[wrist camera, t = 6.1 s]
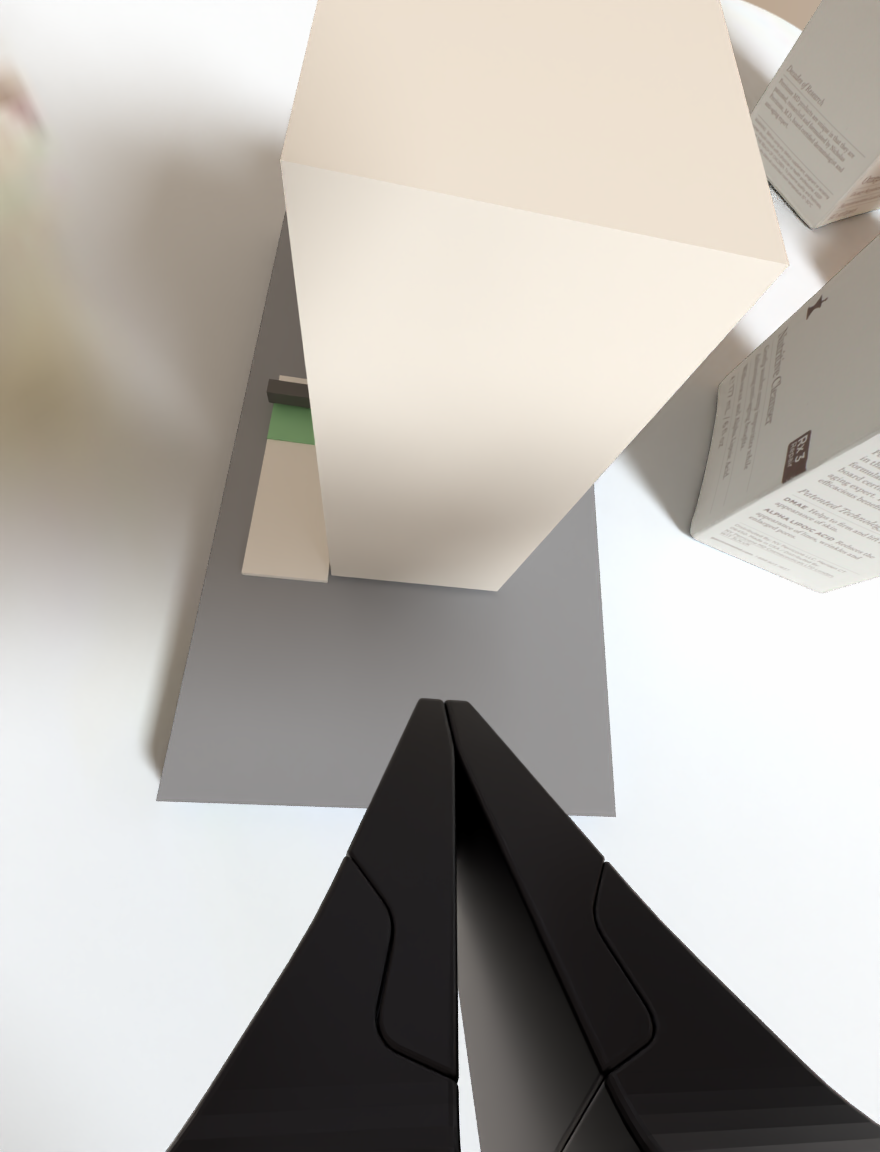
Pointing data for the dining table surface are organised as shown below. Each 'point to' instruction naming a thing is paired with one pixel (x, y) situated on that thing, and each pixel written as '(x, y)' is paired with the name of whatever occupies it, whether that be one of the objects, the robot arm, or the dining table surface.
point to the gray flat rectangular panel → (369, 634)
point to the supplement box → (826, 116)
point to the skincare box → (803, 442)
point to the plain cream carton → (507, 259)
